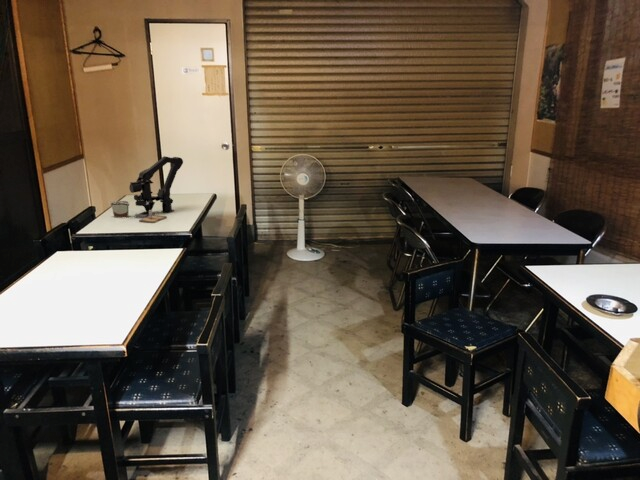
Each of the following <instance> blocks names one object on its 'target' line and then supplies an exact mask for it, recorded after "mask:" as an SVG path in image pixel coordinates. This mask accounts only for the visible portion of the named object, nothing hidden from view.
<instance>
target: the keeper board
mask: <svg viewBox="0 0 640 480" xmlns="http://www.w3.org/2000/svg"><path fill="white" fill-rule="evenodd" d="M152 212H153V210H152V211H151V210H149V217H146V218H140V219H139V220H138V222H139V223H147V224H149V223H150V224H155V223H157V222H158V223H159V222H160V221H163V220H165V219H167V216H166V215H156V214H155V215H152Z"/></svg>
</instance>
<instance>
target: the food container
mask: <svg viewBox="0 0 640 480" xmlns="http://www.w3.org/2000/svg"><path fill="white" fill-rule="evenodd" d="M110 206H111V209H112V214H113V217H114V218H122V217H124V218H125V217H126V218H127V217H128V218H129V216H130V215H129V206H130V203H129V201H126V200H118V201H117V200H115V201H113V202H110Z"/></svg>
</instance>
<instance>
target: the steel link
mask: <svg viewBox="0 0 640 480" xmlns="http://www.w3.org/2000/svg"><path fill="white" fill-rule="evenodd" d="M155 213H156V212H155V211H152V215H156V214H155ZM134 216H135V219H143V218H146V217H149V214H147V212H146V210H145V211H141V212H139V213H137V214H135V215H134Z"/></svg>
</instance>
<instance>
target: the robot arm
mask: <svg viewBox="0 0 640 480" xmlns="http://www.w3.org/2000/svg"><path fill="white" fill-rule="evenodd" d="M168 163H170V164H169V165H170V168H169V171H168V174H167V177H166V179H165V182H164V184H163V187H162V188H159V189H158V191H157V193H156V195H152V194H153V191H152V187H151V186H152V185H151V184H154V181H152V180H151V179H152V178H153V177H154V175H155V174H156V173H157V172H158V171H159V170H161V168H163V167H164V166H165V165H167V164H168ZM183 164H184V160H183V158H181V157H178V156H173V157H169V156H165V155H164V156H162V157H161V159H159V160H158V161H156V162H155V163H154V164H153V165H151V166H150V167H149V168H146V169H144V170H142V171H141V172H139V174H138V177H137V179H136V181H131V182H129V183H130V184H129V191H130V193H131V194H132V193H140V194H134V195H133V199H134V200H135V206H136V207H137V206H138V207H139V206H140V207H143V208H144V209H145V211H146V212H147V214H149V210H151V211H152V212H153V208H154V206H155V204H156V202H158V201H160V203H162V204H161V207H162V210H161V211H160V213H171V212H174V209H172V204H173V203H174V199H173V198H171V188H172V186H173V183H174V180H175V178H176V175H177V173H178V171H179V170H180V169H181V167H182V166H183ZM155 201H156V202H155Z"/></svg>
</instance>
